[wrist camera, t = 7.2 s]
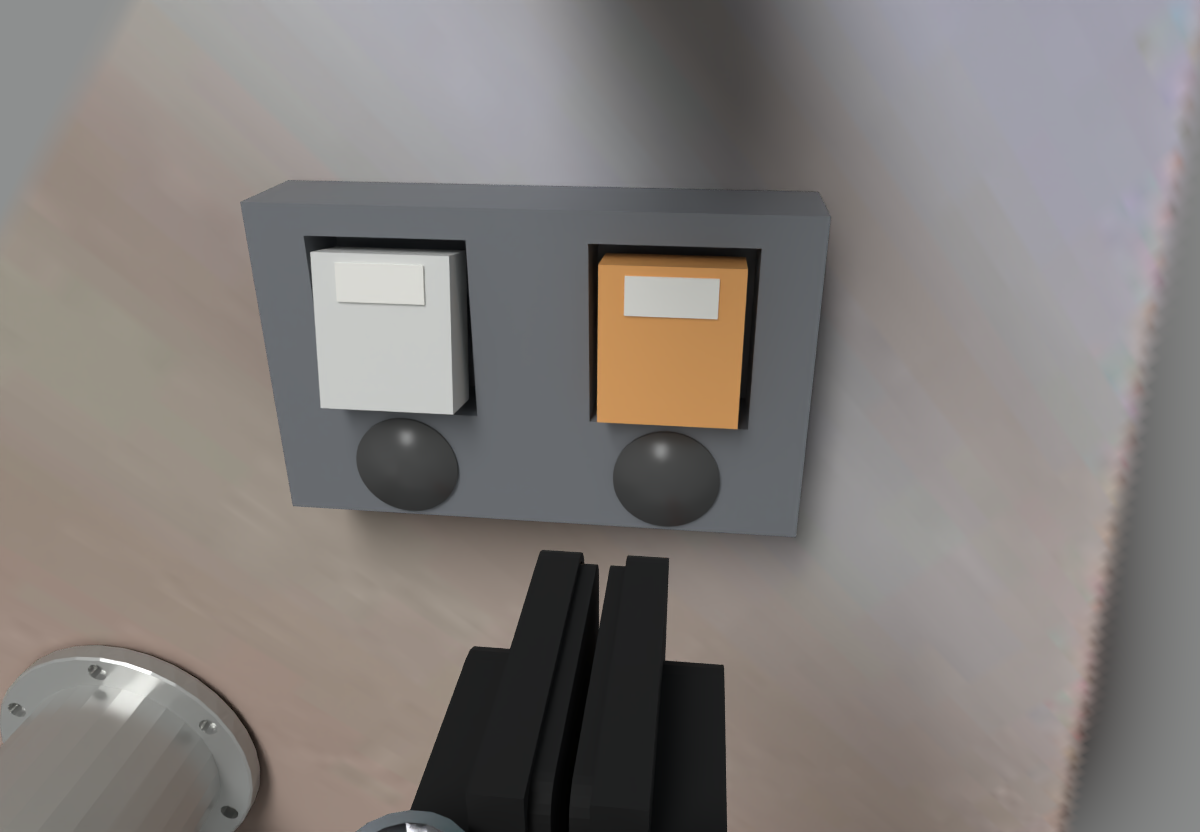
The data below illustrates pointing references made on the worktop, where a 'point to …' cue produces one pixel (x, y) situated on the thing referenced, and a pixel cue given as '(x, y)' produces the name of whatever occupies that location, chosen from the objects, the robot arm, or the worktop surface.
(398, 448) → the grey switch box
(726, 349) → the labelled cardboard parcel
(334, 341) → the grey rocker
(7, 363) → the worktop surface
